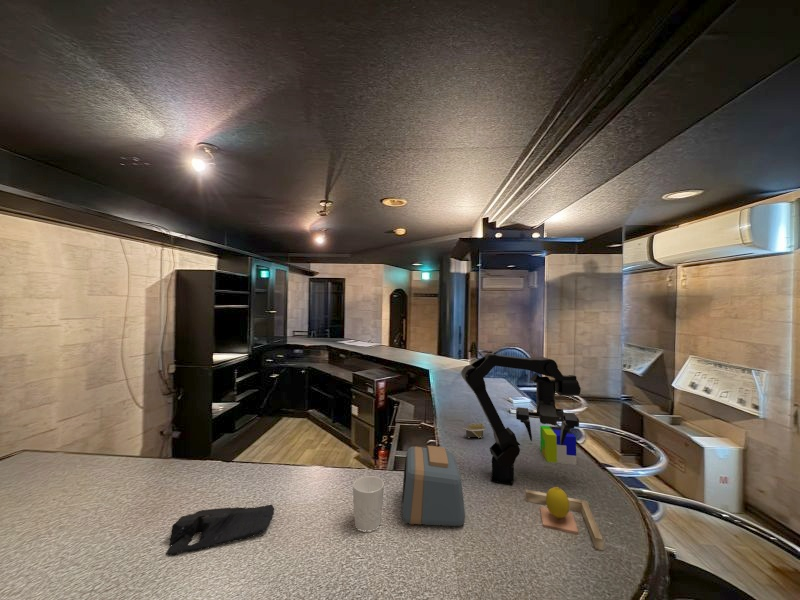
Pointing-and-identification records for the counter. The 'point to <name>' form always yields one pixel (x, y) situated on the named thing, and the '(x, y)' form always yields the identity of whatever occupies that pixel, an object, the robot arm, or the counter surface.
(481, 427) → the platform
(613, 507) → the counter surface
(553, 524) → the wooden corner frame
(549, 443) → the puzzle toy
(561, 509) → the lemon
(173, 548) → the black flat piece
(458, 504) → the grey taped box
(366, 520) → the white cup
